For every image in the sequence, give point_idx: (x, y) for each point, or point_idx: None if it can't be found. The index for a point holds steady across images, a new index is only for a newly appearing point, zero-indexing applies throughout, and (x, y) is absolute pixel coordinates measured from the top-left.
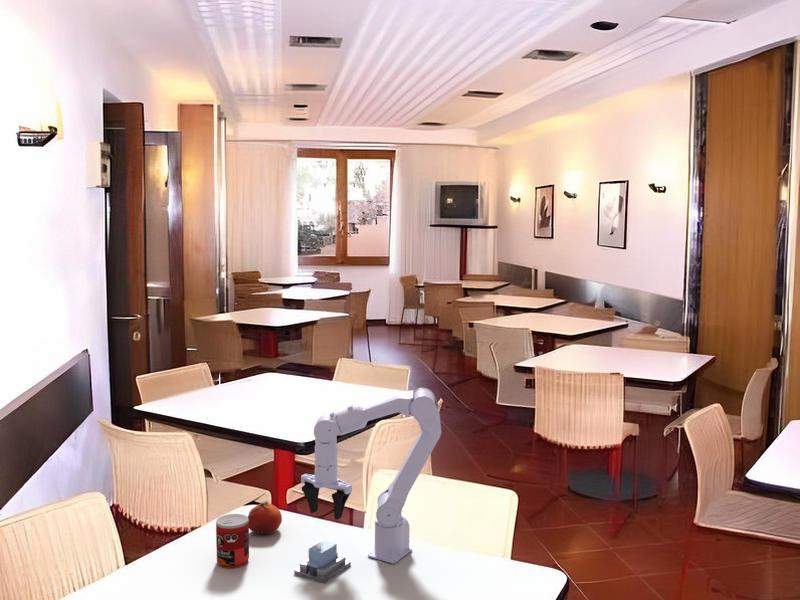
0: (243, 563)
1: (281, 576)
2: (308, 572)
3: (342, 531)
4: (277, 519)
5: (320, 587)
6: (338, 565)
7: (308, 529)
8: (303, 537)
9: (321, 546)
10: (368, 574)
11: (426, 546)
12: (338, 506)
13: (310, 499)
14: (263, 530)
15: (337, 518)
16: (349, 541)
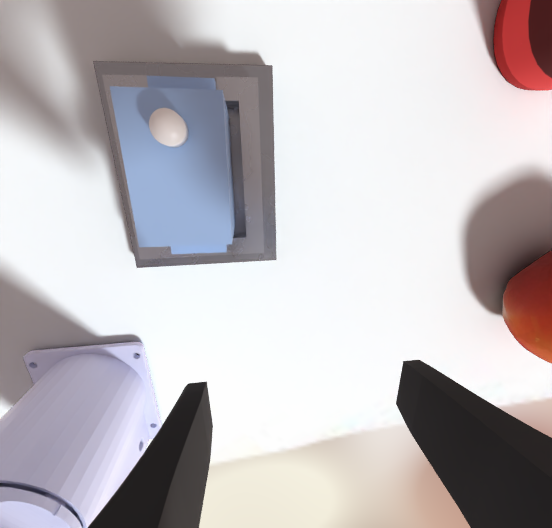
0: (504, 4)
1: (303, 17)
2: None
3: (322, 411)
4: (541, 317)
5: (89, 24)
6: None
7: None
8: (403, 324)
9: (184, 170)
10: (34, 245)
11: None
12: (90, 525)
13: (519, 456)
14: (546, 257)
15: (182, 393)
16: (266, 381)
